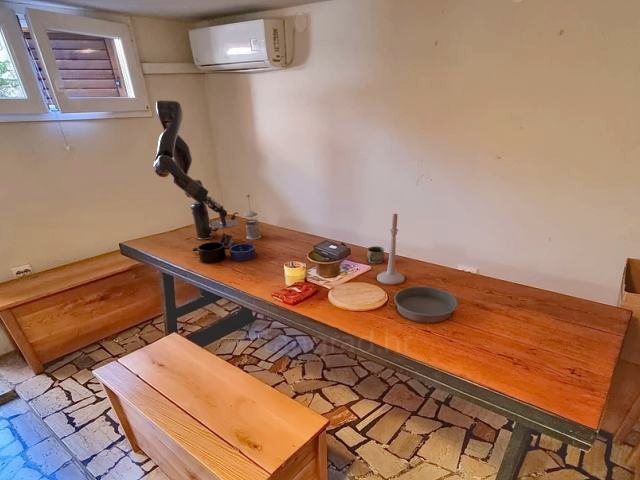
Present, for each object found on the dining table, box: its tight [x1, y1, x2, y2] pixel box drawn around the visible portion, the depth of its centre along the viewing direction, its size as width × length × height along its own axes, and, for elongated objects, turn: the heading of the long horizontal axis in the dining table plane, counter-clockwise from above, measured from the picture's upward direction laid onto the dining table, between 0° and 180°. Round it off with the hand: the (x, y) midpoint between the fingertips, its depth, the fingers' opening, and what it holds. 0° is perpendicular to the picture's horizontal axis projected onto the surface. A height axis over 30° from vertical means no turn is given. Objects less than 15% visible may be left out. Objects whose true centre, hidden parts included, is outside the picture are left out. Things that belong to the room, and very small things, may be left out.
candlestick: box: [376, 213, 405, 285], centre depth 163 cm, size 13×13×30 cm
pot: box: [192, 241, 231, 265], centre depth 196 cm, size 14×19×7 cm
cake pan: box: [393, 285, 459, 324], centre depth 146 cm, size 25×25×4 cm
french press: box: [243, 194, 262, 240], centre depth 220 cm, size 10×12×25 cm
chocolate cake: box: [219, 230, 235, 247], centre depth 216 cm, size 10×7×12 cm
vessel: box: [366, 245, 385, 264], centre depth 189 cm, size 12×9×6 cm
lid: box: [209, 205, 239, 230], centre depth 187 cm, size 15×15×10 cm
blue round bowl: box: [228, 243, 257, 262], centre depth 199 cm, size 14×14×5 cm
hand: (226, 214), depth 187 cm, fingers closed on lid, 2 cm apart
